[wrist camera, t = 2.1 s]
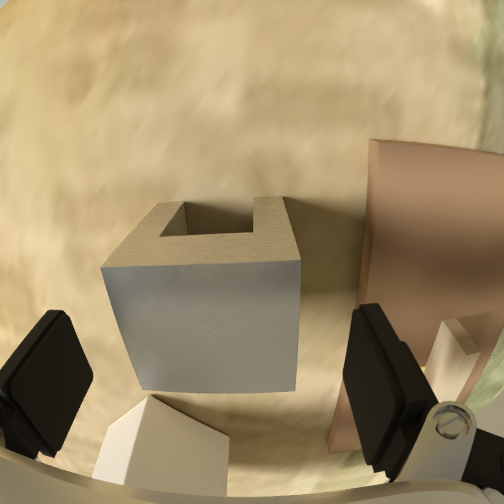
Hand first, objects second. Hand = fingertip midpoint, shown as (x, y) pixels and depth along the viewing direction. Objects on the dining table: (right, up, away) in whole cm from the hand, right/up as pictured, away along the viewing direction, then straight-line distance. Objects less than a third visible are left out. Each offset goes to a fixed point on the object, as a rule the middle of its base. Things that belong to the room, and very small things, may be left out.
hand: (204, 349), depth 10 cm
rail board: (+12, -2, +7) cm, 15 cm away
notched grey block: (0, +3, +5) cm, 6 cm away
